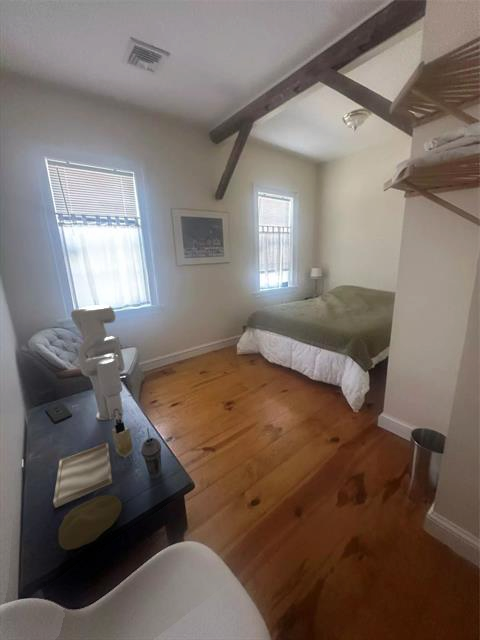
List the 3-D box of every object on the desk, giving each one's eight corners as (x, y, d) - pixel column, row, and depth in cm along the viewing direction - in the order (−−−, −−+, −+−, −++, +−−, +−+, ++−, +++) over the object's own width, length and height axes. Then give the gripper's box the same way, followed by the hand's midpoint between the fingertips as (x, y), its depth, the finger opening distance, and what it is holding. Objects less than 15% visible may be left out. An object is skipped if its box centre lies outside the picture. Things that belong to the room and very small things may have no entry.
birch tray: (61, 464, 106) (59, 460, 105) (108, 447, 114) (107, 442, 113) (55, 507, 87) (53, 502, 86) (112, 482, 96) (111, 477, 95)
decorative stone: (118, 501, 88) (113, 478, 85) (129, 526, 80) (123, 501, 77) (60, 538, 77) (52, 513, 75) (65, 570, 69) (57, 543, 66)
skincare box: (115, 453, 110) (110, 429, 107) (124, 447, 114) (119, 423, 110) (125, 458, 107) (120, 434, 104) (134, 451, 111) (129, 427, 107)
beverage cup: (147, 484, 94) (138, 439, 89) (144, 470, 100) (136, 427, 95) (167, 476, 97) (159, 432, 92) (163, 463, 103) (156, 421, 98)
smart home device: (61, 402, 152) (72, 413, 139) (62, 404, 152) (73, 416, 139) (44, 408, 146) (54, 421, 133) (45, 411, 146) (55, 424, 133)
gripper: (100, 383, 108) (108, 418, 112) (102, 401, 93) (111, 440, 97) (119, 378, 111) (126, 412, 115) (124, 394, 97) (131, 433, 101)
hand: (119, 425), depth 106 cm, fingers open, 9 cm apart
